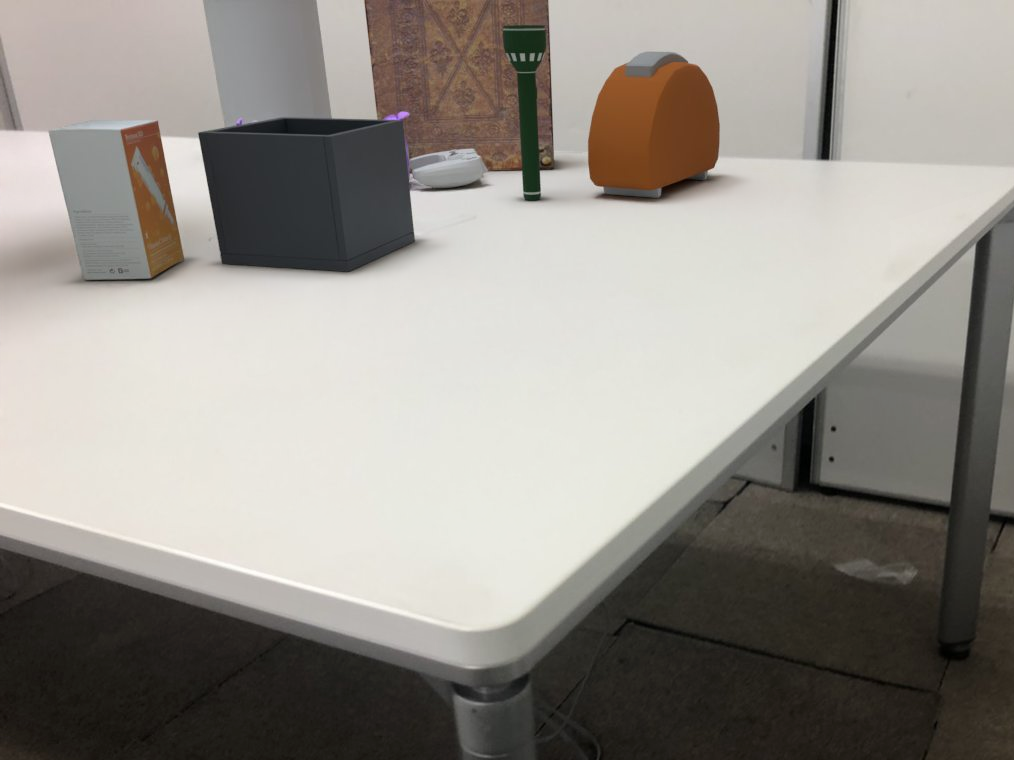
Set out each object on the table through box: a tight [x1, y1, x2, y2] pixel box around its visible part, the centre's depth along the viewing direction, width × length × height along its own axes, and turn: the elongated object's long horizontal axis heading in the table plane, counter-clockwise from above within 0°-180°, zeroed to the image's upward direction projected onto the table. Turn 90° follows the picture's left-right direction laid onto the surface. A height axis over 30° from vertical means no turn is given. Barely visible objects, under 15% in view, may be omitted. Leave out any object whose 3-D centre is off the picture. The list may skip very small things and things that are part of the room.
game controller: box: [409, 148, 489, 189], centre depth 139 cm, size 14×4×10 cm
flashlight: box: [503, 25, 546, 201], centre depth 123 cm, size 5×5×20 cm
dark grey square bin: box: [197, 117, 416, 273], centre depth 99 cm, size 14×14×12 cm
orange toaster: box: [587, 51, 721, 199], centre depth 132 cm, size 23×9×17 cm, turn 154°
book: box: [363, 0, 555, 173], centre depth 147 cm, size 25×9×30 cm, turn 96°
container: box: [202, 0, 333, 128], centre depth 158 cm, size 17×17×25 cm
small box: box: [48, 119, 185, 281], centre depth 92 cm, size 8×6×13 cm
